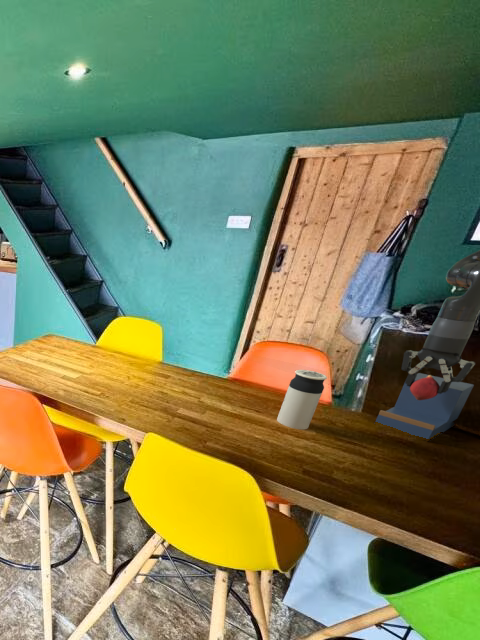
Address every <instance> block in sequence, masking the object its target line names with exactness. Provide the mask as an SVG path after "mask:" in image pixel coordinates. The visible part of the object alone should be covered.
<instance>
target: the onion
mask: <svg viewBox="0 0 480 640" xmlns="http://www.w3.org/2000/svg"><path fill="white" fill-rule="evenodd" d="M427 375H428V376H427V377H426V378H422V379H419V380H417V381H415V382H414V383H413V384H412V385H411V386H410V391H411V393H412V394H413V395H414V397H415V398H416V399H417V400H425V399H430V398H433V397H435V396H436V395H437V394H438V393H437V392H438V390H439V388H440V386H439V384H438V382H437V381H436V380H434V378H433V377H432V376H433V375H432V374H427Z"/></svg>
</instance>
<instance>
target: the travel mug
mask: <svg viewBox="0 0 480 640" xmlns="http://www.w3.org/2000/svg"><path fill="white" fill-rule="evenodd" d="M294 373H295V376H294V377H293V378H292V379H291V380H290V382H289V385H288V387H287V390H286V392H285V395H284V398H283V401H282V404H281V407H280V410H279V412H278V416H277V418H276V422H278V423H279V424H281V425H282V426H284V427H288V428H291V429H295V430H307V429H309V427H310V424H311V422H312V419H313V416H314V415H315V411H316V410H317V407H318V404H319V401H320V399H321V397H322V395H323V392H324V389H325V385H324V382H325V380H327V379H328V376H327V375H325V374H323V373H321V372H317V371H314V370H308V369H297V370H295V371H294Z"/></svg>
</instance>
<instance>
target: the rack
mask: <svg viewBox="0 0 480 640" xmlns="http://www.w3.org/2000/svg"><path fill="white" fill-rule="evenodd" d="M416 374H417V376H416V378H415V381H417V380H419V379H422V378H426V377H427V376H428V375H429V374H426V373H421V372H417V373H416ZM431 376H432V377H433V378H434V380H436V381H437V382H438V384H439V386H441V383H442V381H444V378H443V377H440V376H436V375H435V376H434V375H431ZM415 381H414V382H415ZM474 386H475V384H473V383H467V382H463V381H460V382H451V384H450V387H449V389H448V390H447V391H446V392H443V393H442V394H439V393H438V394H437V395H436V396H435V397H433V398H430V399H425V400H417V399H416V398H415V397H414V395H413V394H412V393H411V391H410V386H407V384H405V382H404V383H403V386H402V388H401V390H400V393H399V396H398V398H397V400H396V402H395V405H394V406H393V407H391V408H389V409H387V410H383V409H380V410H379V412H378V415H377V416H376V419H375V422H378V423H381V424H383V425H387V426H390V427H393V428H396V429H398V430H401V431H403V432H407V433H409V434H411V435H415V436H419V437H423V438H426V439H430V438H431V437H433V436H434V435H436V434H437V433H440V432H443V433H444V432H446V431H448V430H450V429H451V428H453V427H454V426H455V424H456V422H454V421H456V420H458V418H459V416H460V415H461V413H462V410H463V408H464V406H465V404H466V402H467V400H468V399H469V397H470V394H471V393H472V390H473V388H474Z"/></svg>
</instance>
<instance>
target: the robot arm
mask: <svg viewBox="0 0 480 640" xmlns="http://www.w3.org/2000/svg"><path fill="white" fill-rule="evenodd" d="M445 280H446V282H447V283H448V284H449V285H451V286H453V287H459V288H467V290H466V292H465V293H463V294H462V295H452V296H449V297H447V298H445V300H444V301H443V303H442V305H441V308H440V310H439V312H438V315H437V316H436V318H435V320H434V322H433V323H432V325H431V327H430V328H429V332H428V334H427V337H426V339H425V341H424V343H423V346H422V348H421V349H420V350H419V351H416V350H411V349H410V350H406V351H404V353H403V359H402V363H401V371H404V372H405V373H407V377H406V379H405V381H404V383H405V384H407V386H411V385H412V384H413V383H414V381H415V378H416V376H417V374H418V373H419V372H420V371H421V370H423V369H424V368H427V369H434V370H437V371H441V375H442V378H444V381H442V383H441V386H440V388H439V390H438V392H437V393H439V394H442V393H443V392H446V391H447V390H448V389H449V387H450V384H451V382H463V381H464V380H465V378H466V377H467V376H468V375H469V373H470V372H471V370H472V369H473V368H474V366H475V365H476V362H475V361H472V360H471V361H469V360H465V359H462V353H463V351H464V349H465V347H466V345H467V343H468V342H469V341H468V340H469V339H470V337H471V335H472V333H473V330H474V326H475V323H476V321H477V319H478V316H479V314H480V249H479V250H477V251H475V252H472V253H470V254H469V255H467V256H465V257H463V258H462V259H459V260H458V261H457V262H455V263H454V264H453V265H452V266H451V267H450V268H449V269H448V270H447V272H446V275H445ZM416 356H417V357H418V358H419V361H420V362H419V363H417V364H416V365H415V366H414V367H411V366H412V361H413V360H412V359H414V358H416ZM458 364H459V365H460V366H459V368H460V369H461V370H459V372H458V374H457V375H456V376H454V375H453V368H452V367H453V366H455V365H458Z"/></svg>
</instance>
